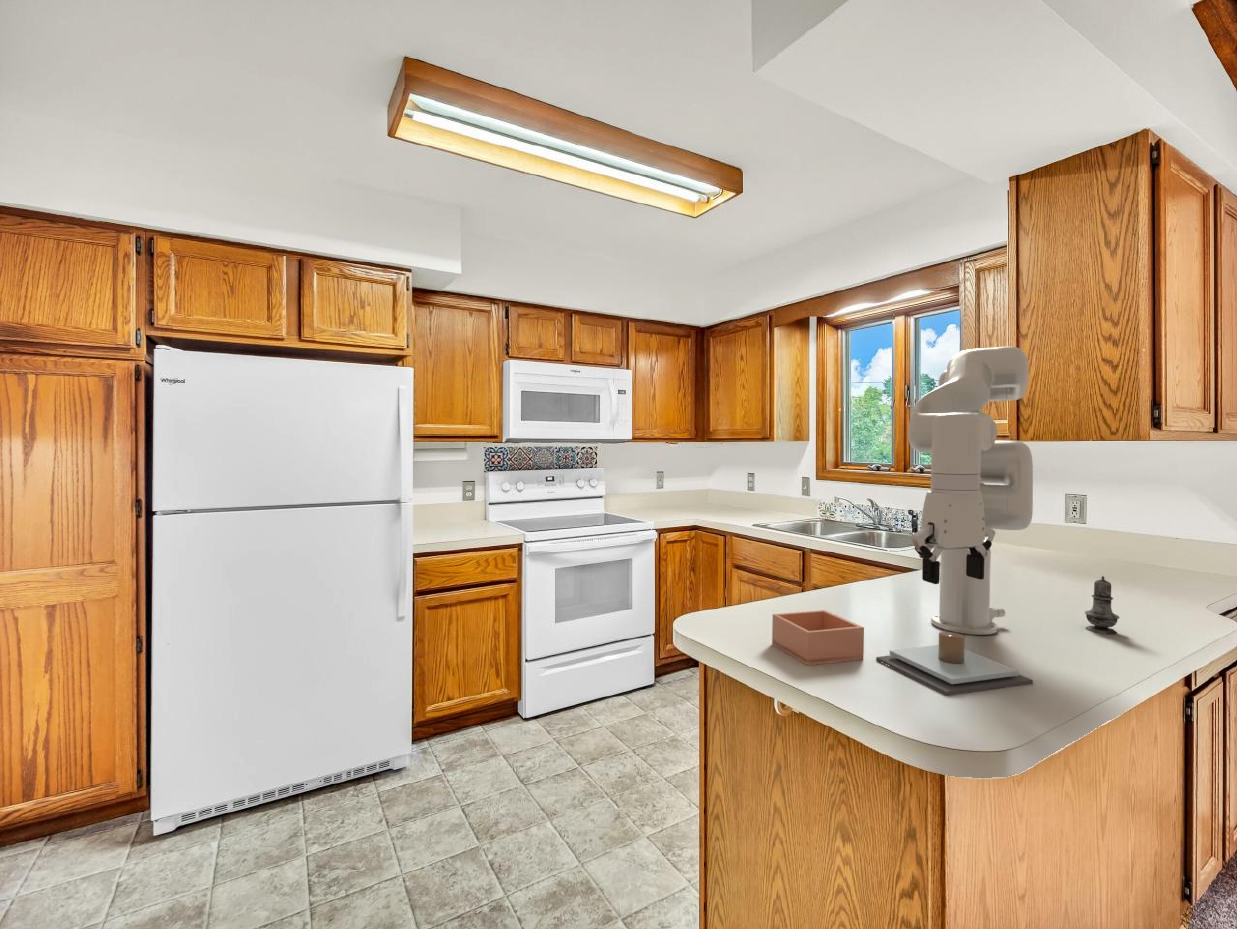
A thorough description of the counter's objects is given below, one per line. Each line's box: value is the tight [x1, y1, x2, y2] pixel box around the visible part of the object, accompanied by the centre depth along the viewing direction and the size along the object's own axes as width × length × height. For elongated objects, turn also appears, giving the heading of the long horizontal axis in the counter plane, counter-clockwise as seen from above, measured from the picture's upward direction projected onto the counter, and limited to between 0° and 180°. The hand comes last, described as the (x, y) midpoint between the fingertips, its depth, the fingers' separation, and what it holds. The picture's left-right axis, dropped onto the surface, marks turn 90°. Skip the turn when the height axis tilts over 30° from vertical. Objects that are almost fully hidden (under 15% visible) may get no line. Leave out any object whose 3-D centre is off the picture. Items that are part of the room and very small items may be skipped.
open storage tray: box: [771, 609, 865, 667], centre depth 113 cm, size 12×12×6 cm
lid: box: [889, 631, 1020, 684], centre depth 103 cm, size 14×14×6 cm
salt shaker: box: [1084, 575, 1121, 635], centre depth 127 cm, size 6×6×12 cm
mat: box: [875, 654, 1034, 696], centre depth 104 cm, size 18×16×1 cm
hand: (953, 580), depth 104 cm, fingers open, 9 cm apart
